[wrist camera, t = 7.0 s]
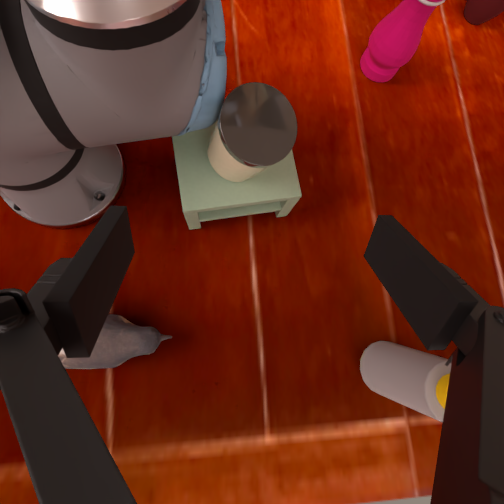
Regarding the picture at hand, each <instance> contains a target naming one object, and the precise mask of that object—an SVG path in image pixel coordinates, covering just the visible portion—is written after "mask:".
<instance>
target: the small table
mask: <svg viewBox="0 0 504 504" xmlns="http://www.w3.org/2000/svg"><path fill="white" fill-rule="evenodd" d="M217 120H218V119H217ZM217 120H216V122H217ZM216 122H215V123H214V124H213V125H211V126H210V127H207V128H205V129H200V130H196V131H191V132H187V133H186V134H184V135H182V136H172V140H173V147H174V154H175V161H176V168H177V175H178V181H179V188H180V195H181V202H182V209H183V213H184V216H185V219H186V221H187V224H188V227H189V229H190V230H191V229H198V228H201V224H200V222H202V221H210V220H217V219H224V218H231V217H238V216H246V215H253V214H260V213H267V212H274V211H275V214H276V217H283V216H287V215H288V213H289V212H290V211H291V209H292V208H293V207H294V205H295V204H296V203H297V202H298V200H299V199H300V198H301V196H302V194H301V189H300V185H299V180H298V175H297V171H296V166H295V161H294V157H293V152H292V150H291V151H290V153H289V154H288V155H287V156H286V157H285V158H284V159H283V160H281V161H279V162H278V163H276V164H275V165H272V166H270V167H268V168H267V169H265V170H264V171H262V172H261V173H260V174H258V175H257V176H255V177H253V178H252V179H250V180H248V181H245V182H232V181H229V180H226V179H224V178H223V177H221V176H220V175H219V174H218V173H217V172H216V171H215V170H214V169H213V167H212V166H211V163H210V161H209V158H208V152H207V148H208V141H209V139H210V136H211V134H212V131H213V129H214V127H215V124H216Z"/></svg>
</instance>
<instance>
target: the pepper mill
mask: <svg viewBox="0 0 504 504" xmlns="http://www.w3.org/2000/svg"><path fill="white" fill-rule="evenodd" d="M444 1H445V0H403V1H402V2H401V3H400V4H399V6H398V7H396V8H395V9H394V10H393V11H392V12H391V13H390V14H388V15H387V16H386V17H384V18H383V19H382V20H381V21H380V22H379V23H378V25H377V26H376V27H375V29H374V30H373V32H372V33H371V35H370V38H369V46H368V47H367V48H366V50H365V52H364V53H363V55H362V57H361V60H360V66H361V70H362V72H363V73H364V75H365V76H366V77H367V78H369V79H370V80H372V81H375V82H386V81H389V80H390V79H391V78H392V77H393V76H394V75H395V74H396V72H397V71H398V70H399V68H400V67H401V66H403V65H405V64H406V63H407V62H408V61H409V60H410V59H411V58H412V56H413V55H414V53H415V52H416V50H417V47H418V45H419V43H420V39H421V35H422V31H423V28H424V26H425V24H426V21H427V19H428V18H429V16H430V15H431V13H432V11H433V10H434V9H435V8H436V6H438V5H440V4H442V3H443V2H444Z"/></svg>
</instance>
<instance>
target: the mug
mask: <svg viewBox="0 0 504 504" xmlns="http://www.w3.org/2000/svg"><path fill="white" fill-rule="evenodd" d="M503 11H504V0H467V2H466V6H465V9H464V17H465V19H466V20H467V21H468V22H469V23H471V24H474V25H479V24H481V23H484V22H486V21H488V20H490V19H492V18H494V17H496V16H497V15H499V14H500V13H502V12H503Z"/></svg>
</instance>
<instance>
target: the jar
mask: <svg viewBox="0 0 504 504" xmlns="http://www.w3.org/2000/svg"><path fill="white" fill-rule="evenodd" d="M296 136H297V120H296V116H295V112H294V110H293V108H292V106H291V104H290V102H289V101H288V99H287V98H286V97H285V96H284V95H283V94H282V93H281V92H280V91H278V90H277V89H276V88H274V87H272V86H270V85H267V84H264V83H257V82H253V83H246V84H243V85H240V86H239V87H237V88H235V89H234V90H233V91H231V93H230V94H229V95H228V96H227V97H226V99H225V101H224V103H223V105H222V107H221V110H220V113H219V117H218V120H217V122H216V124H215V127H214V129H213V131H212V134H211V136H210V139H209V141H208V148H207V152H208V158H209V161H210V163H211V166H212V167H213V169H214V170H215V171H216V172H217V173H218V174H219V175H220V176H221V177H223V178H224V179H226V180H229V181H232V182H245V181H248V180H250V179H252V178H253V177H255V176H257V175H258V174H260V173H261V172H262V171H264V170H265V169H267V168H268V167H270V166H272V165H275V164H276V163H278V162H279V161H281V160H283V159H284V158H285V157H286V156H287V155H288V154H289V153H290V151H291V150H292V148H293V146H294V144H295V140H296Z"/></svg>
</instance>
